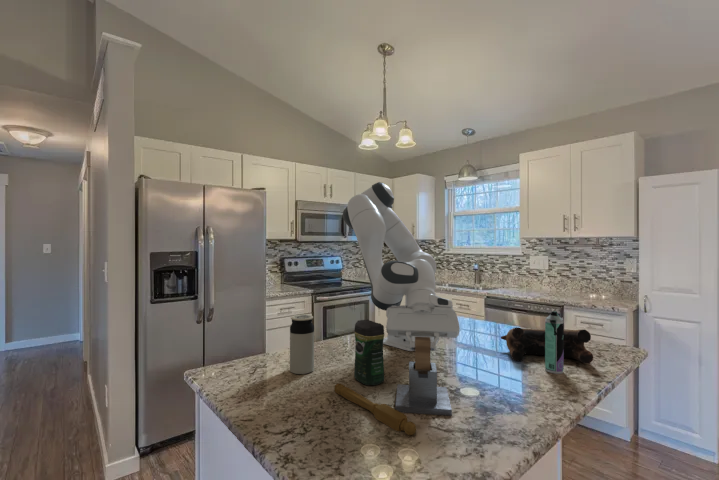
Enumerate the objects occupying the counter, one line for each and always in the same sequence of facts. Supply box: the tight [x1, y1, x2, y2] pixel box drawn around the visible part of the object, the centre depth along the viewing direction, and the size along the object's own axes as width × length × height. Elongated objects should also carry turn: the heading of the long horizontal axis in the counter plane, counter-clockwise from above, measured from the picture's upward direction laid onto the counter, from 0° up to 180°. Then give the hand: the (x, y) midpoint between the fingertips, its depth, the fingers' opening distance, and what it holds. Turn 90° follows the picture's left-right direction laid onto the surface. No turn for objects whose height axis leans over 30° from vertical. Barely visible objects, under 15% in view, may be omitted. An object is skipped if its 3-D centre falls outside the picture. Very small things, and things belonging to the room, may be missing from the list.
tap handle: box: [333, 382, 417, 437], centre depth 93 cm, size 3×3×30 cm
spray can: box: [544, 310, 565, 375], centre depth 122 cm, size 6×6×20 cm
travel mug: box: [289, 314, 315, 375], centre depth 122 cm, size 8×8×18 cm
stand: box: [394, 361, 453, 417], centre depth 99 cm, size 14×14×10 cm
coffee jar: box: [353, 319, 385, 386], centre depth 114 cm, size 10×8×19 cm
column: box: [414, 337, 432, 370], centre depth 99 cm, size 4×4×15 cm
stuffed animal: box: [500, 327, 594, 364], centre depth 141 cm, size 13×31×25 cm
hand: (422, 349), depth 98 cm, fingers closed on column, 4 cm apart
